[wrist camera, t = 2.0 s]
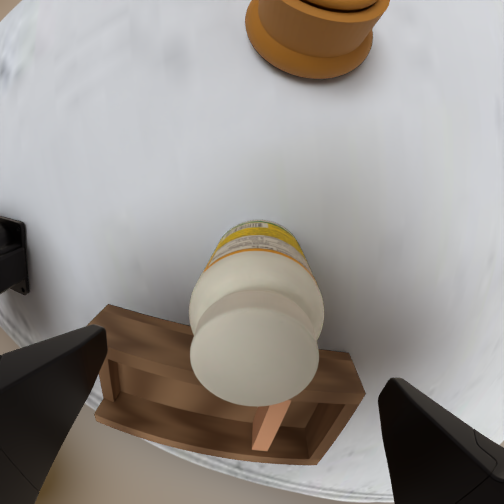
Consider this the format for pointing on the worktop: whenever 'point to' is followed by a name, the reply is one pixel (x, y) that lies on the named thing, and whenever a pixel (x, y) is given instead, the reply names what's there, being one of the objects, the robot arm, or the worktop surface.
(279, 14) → the ornamental finial
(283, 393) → the supplement bottle
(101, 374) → the pusher lane
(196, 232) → the worktop surface
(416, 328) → the worktop surface
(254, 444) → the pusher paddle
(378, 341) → the worktop surface
